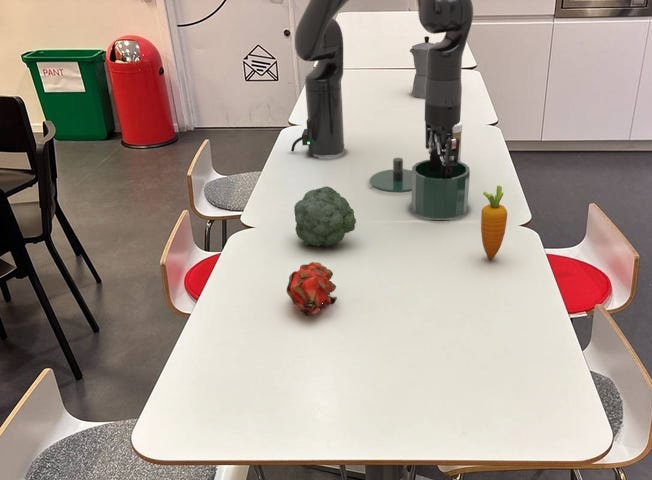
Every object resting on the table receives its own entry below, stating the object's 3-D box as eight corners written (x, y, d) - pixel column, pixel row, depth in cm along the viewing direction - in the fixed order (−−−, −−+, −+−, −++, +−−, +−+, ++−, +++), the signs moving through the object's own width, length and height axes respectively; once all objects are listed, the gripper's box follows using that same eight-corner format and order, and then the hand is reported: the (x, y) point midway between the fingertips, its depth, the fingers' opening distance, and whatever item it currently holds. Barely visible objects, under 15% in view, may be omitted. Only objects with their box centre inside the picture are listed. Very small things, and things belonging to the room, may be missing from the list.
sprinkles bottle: (455, 171, 179) (457, 118, 171) (462, 178, 175) (465, 123, 167) (438, 174, 177) (440, 120, 169) (446, 180, 174) (448, 126, 166)
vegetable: (376, 221, 151) (353, 218, 136) (335, 261, 155) (309, 262, 140) (340, 178, 151) (313, 171, 137) (300, 220, 155) (270, 217, 141)
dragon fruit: (319, 294, 133) (316, 337, 125) (280, 274, 130) (274, 316, 121) (344, 264, 128) (343, 307, 120) (304, 242, 125) (299, 284, 116)
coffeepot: (418, 101, 229) (419, 41, 218) (401, 94, 235) (401, 36, 224) (454, 93, 236) (457, 35, 225) (437, 87, 242) (438, 30, 232)
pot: (410, 220, 156) (411, 179, 150) (412, 197, 166) (412, 158, 160) (468, 221, 155) (470, 180, 149) (465, 198, 165) (468, 158, 159)
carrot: (487, 267, 138) (493, 195, 129) (473, 257, 141) (477, 186, 132) (508, 261, 139) (515, 189, 131) (493, 251, 143) (499, 181, 134)
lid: (368, 194, 168) (367, 169, 164) (372, 173, 179) (371, 149, 175) (425, 194, 167) (426, 170, 163) (425, 173, 178) (426, 149, 174)
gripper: (414, 92, 151) (413, 167, 160) (438, 111, 139) (436, 190, 149) (446, 88, 152) (444, 163, 162) (473, 107, 141) (468, 186, 151)
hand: (440, 176), depth 156 cm, fingers open, 6 cm apart
